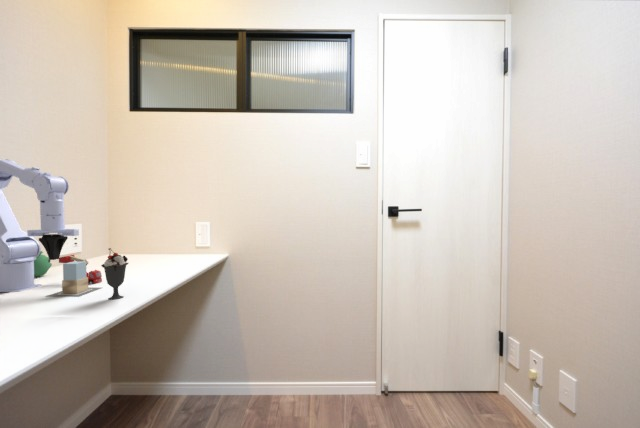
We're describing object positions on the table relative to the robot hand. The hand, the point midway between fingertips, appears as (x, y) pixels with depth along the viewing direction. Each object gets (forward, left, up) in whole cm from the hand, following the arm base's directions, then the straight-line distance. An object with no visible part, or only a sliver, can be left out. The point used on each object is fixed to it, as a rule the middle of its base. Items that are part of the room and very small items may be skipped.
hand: (54, 259), depth 99 cm
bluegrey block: (+7, -1, -6) cm, 9 cm away
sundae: (+24, -7, -10) cm, 27 cm away
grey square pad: (+7, -1, -10) cm, 13 cm away
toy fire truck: (0, +11, -11) cm, 15 cm away
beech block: (+7, -1, -10) cm, 12 cm away
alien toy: (-24, +21, -10) cm, 34 cm away
